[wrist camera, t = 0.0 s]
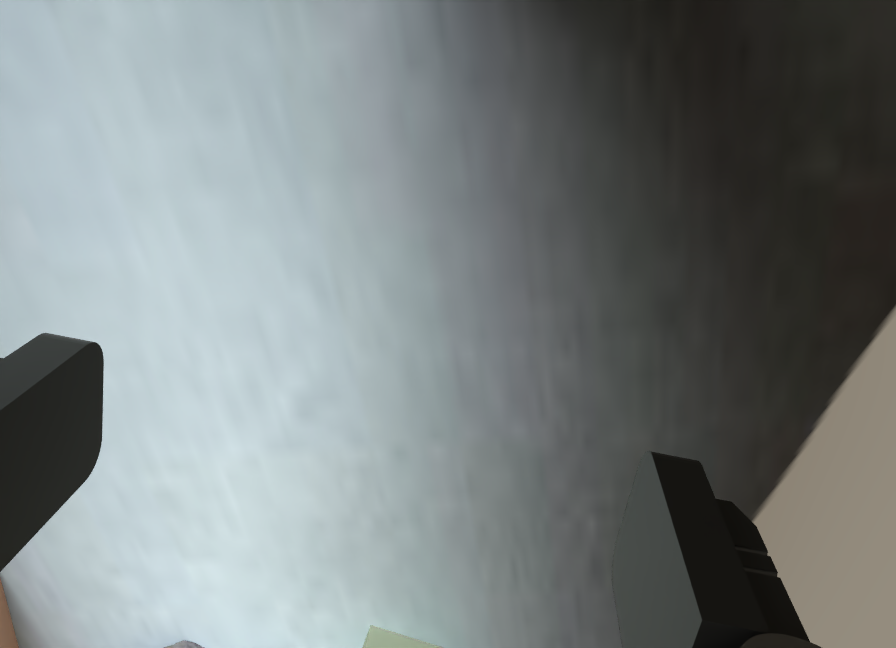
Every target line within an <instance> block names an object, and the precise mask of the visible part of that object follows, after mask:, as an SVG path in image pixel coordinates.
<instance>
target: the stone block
mask: <svg viewBox="0 0 896 648" xmlns="http://www.w3.org/2000/svg"><path fill="white" fill-rule="evenodd" d="M165 648H204V647H202V646H200V645H198V644H196V643H193V642H188V641H181V642H178V643H176V644H174V645H171V646H167V647H165Z"/></svg>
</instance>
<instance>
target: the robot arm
mask: <svg viewBox="0 0 896 648" xmlns="http://www.w3.org/2000/svg"><path fill="white" fill-rule="evenodd" d="M103 366H104V362H103V352H102V349H101V347H100V346H99V344H97V343H95V342H90V341H85V340H80V339H75V338H70V337H65V336H59V335H54V334H49V333H43V334H40V335H38V336H37V337H35V338H34V339H32V340H31V341H29V342H28V343H26V344H25V345H23V346H22V347H20V348H19V349H17V350H16V351H14V352H13V353H11V354H10V355H8V356H7V357H5V358H4V359H3V358H0V572H1V571H2V569H3V568H4V567H5V566H6V565H7V564H8V563H9V562H10V561H11V560H12V559H13V558H14V557H15V556H16V554H17V553H18V552H19V551H20V550H21V549H22V548H23V547H24V546H25V545H26V544H27V543H28V542H29V541H30V540H31V538H32V537H33V536H34V535H35V534H36V533H37V532H38V531H39V530H40V529H41V528H42V527H43V526H44V525H45V523H46V522H47V521H48V520H49V519H50V518H51V517H52V516H53V515H54V514H55V513H56V512H57V511H58V510H59V508H60V507H61V506H62V505H63V504H64V503H65V502H66V501H67V500H68V499H69V498H70V497H71V496H72V495H73V494H74V492H75V491H76V490H77V489H78V488H79V487H80V486H81V485H82V484H83V483H84V482H85V481H86V479H87V478H88V477H89V475H90V474H91V472H92V470H93V468H94V466H95V464H96V461H97V459H98V456H99V452H100V448H101V442H102V415H103ZM767 553H768V551H767V548H766V546H765V544H764V542H763V540H762V538H761V536H760V533H759V531H758V529H757V527H756V526H755V525H754V524H753V523H752V522H751V521H750V520H749V519H748V518H747V517H746V516H745V515H744V514H743V513H742V512H741V511H740V510H739V509H738V508H737V507H736V506H735V505H734V504H733V503H732V502H730V501H724V500H719V499H715V496H714V494H713V491H712V489H711V487H710V484H709V482H708V479H707V477H706V474H705V472H704V469H703V467H702V465H701V463H700V462H699V461H696V460H691V459H686V458H681V457H676V456H671V455H665V454H660V453H655V452H650V451H647V452H646V453H645V454H644V455H643V457H642V459H641V461H640V464H639V467H638V470H637V473H636V476H635V480H634V483H633V486H632V490H631V493H630V496H629V500H628V503H627V506H626V510H625V513H624V516H623V520H622V523H621V526H620V530H619V533H618V536H617V540H616V544H615V549H614V554H613V562H612V586H613V592H614V598H615V604H616V611H617V617H618V623H619V629H620V635H621V641H622V647H623V648H821V647H819V646H817V645H815V644H813V643H810V641H809V639H808V637H807V634H806V632H805V630H804V628H803V626H802V624H801V621H800V620H799V617H798V615H797V613H796V611H795V609H794V606H793V604H792V602H791V600H790V598H789V596H788V594H787V591H786V589H785V587H784V585H783V583H782V581H781V579H780V578H778V577H777V573H778V572H777V570H776V568H775V566H774V564H773V561H772V559H771V557H770V556H767Z"/></svg>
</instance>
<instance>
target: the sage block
mask: <svg viewBox="0 0 896 648" xmlns="http://www.w3.org/2000/svg"><path fill="white" fill-rule="evenodd" d="M363 648H442V647H439V646H436V645H433V644H430V643H426V642H423V641H420V640H417V639H414V638H410V637H407V636H404V635H401V634H398V633H395V632H391V631H388V630H385V629H382V628H379V627H375V626H372V625H371V626H370V629H369V631H368V634H367V637H366V639H365V642H364V645H363Z"/></svg>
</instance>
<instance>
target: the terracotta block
mask: <svg viewBox="0 0 896 648" xmlns="http://www.w3.org/2000/svg"><path fill="white" fill-rule="evenodd" d="M0 648H19V646H18V642H17V639H16V635H15V631H14V628H13V624H12V620H11V616H10V613H9V609H8V605H7V601H6V598H5V594H4V590H3V587H2V583H1V579H0Z"/></svg>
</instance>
